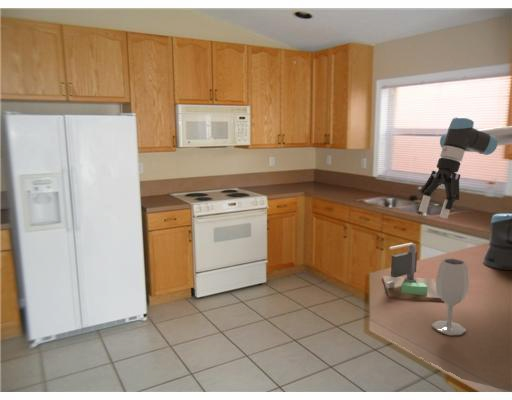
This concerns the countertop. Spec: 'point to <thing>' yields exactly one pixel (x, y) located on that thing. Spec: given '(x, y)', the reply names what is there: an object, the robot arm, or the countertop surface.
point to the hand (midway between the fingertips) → (432, 214)
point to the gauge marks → (410, 287)
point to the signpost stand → (404, 263)
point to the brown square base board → (396, 293)
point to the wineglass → (451, 292)
